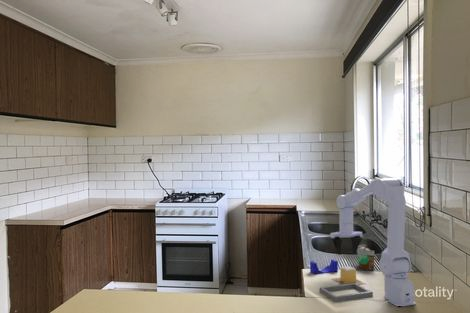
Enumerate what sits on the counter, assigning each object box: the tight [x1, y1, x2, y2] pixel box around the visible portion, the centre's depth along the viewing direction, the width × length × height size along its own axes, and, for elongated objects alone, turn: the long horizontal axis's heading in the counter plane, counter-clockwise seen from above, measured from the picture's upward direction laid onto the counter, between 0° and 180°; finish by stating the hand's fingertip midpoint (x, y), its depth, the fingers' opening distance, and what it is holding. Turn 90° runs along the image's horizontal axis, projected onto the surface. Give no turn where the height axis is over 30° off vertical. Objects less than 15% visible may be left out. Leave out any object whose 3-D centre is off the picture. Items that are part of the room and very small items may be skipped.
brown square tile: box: [331, 277, 366, 286], centre depth 138 cm, size 10×10×1 cm
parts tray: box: [319, 283, 374, 303], centre depth 125 cm, size 10×16×2 cm, turn 109°
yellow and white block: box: [339, 265, 357, 283], centre depth 138 cm, size 4×5×6 cm
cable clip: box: [309, 258, 339, 275], centre depth 151 cm, size 12×4×6 cm, turn 106°
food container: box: [356, 244, 376, 272], centre depth 159 cm, size 12×6×10 cm, turn 178°
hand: (346, 253), depth 148 cm, fingers open, 7 cm apart
